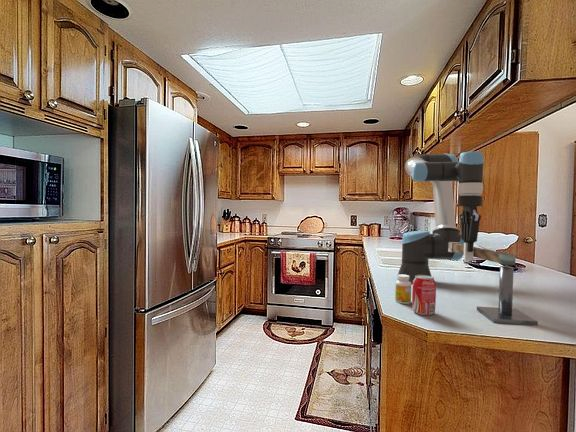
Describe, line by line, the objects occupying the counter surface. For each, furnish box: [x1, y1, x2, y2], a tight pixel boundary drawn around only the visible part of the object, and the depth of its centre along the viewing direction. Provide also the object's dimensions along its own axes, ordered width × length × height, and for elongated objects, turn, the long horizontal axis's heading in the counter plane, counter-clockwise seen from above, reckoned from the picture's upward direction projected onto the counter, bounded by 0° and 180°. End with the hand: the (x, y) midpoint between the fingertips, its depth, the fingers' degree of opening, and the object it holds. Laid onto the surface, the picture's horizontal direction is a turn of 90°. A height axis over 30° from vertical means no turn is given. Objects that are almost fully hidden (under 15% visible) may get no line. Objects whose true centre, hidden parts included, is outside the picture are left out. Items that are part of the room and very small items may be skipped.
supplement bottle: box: [394, 274, 412, 305], centre depth 117 cm, size 5×5×10 cm
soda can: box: [411, 275, 437, 316], centre depth 105 cm, size 7×7×12 cm
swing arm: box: [448, 242, 517, 266], centre depth 115 cm, size 32×4×4 cm, turn 3°
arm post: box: [476, 265, 539, 326], centre depth 102 cm, size 12×12×16 cm
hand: (468, 260), depth 116 cm, fingers closed
